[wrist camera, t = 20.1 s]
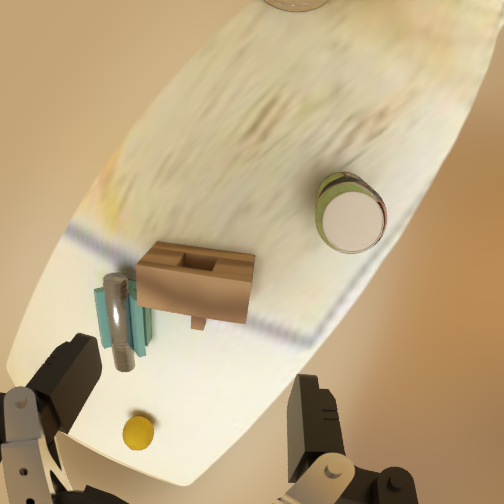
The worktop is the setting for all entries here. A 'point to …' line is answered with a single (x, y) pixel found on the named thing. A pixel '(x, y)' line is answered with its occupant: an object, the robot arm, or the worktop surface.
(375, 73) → the worktop surface
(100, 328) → the v block
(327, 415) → the robot arm
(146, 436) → the lemon
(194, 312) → the brown wooden block
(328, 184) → the beverage can
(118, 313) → the axle
